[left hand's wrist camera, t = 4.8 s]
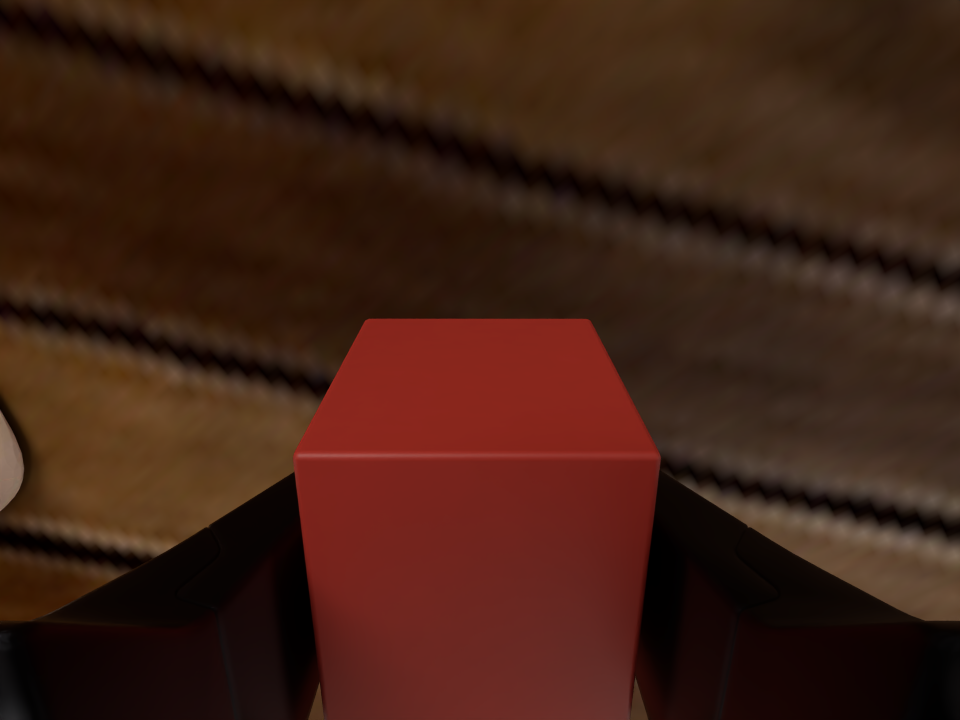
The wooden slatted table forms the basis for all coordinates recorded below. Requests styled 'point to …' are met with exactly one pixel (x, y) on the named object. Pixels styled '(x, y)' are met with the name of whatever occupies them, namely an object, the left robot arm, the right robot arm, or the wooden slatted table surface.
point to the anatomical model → (9, 464)
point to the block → (477, 524)
